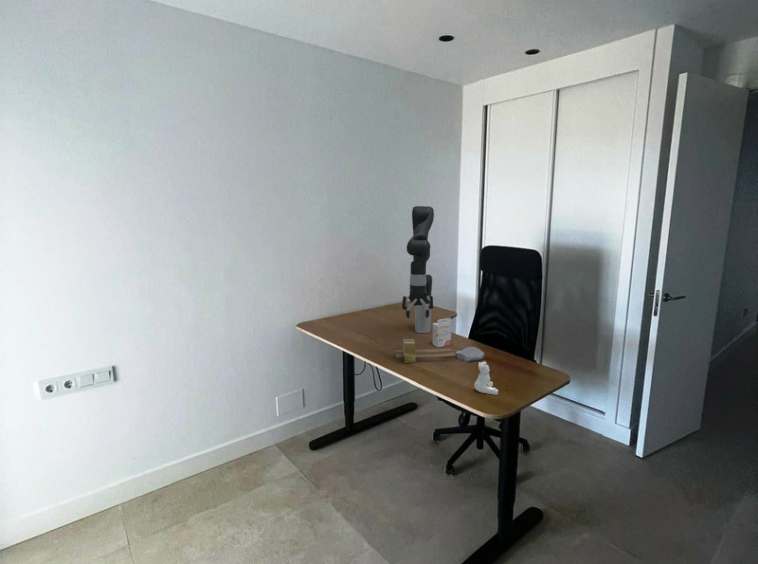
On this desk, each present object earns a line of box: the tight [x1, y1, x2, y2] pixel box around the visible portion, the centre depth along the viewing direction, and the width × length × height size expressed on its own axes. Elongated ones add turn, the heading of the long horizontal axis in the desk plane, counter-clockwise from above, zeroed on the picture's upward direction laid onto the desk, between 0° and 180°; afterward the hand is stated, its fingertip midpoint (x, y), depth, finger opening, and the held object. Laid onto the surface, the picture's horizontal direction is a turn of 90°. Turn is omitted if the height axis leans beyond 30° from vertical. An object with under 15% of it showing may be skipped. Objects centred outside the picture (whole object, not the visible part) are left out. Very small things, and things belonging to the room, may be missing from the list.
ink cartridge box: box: [432, 317, 452, 348], centre depth 221 cm, size 9×5×15 cm, turn 115°
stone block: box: [455, 346, 485, 363], centre depth 203 cm, size 12×5×10 cm
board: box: [394, 348, 457, 363], centre depth 203 cm, size 10×28×2 cm, turn 94°
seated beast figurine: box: [473, 360, 499, 396], centre depth 167 cm, size 10×9×12 cm
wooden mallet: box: [402, 338, 417, 364], centre depth 203 cm, size 15×5×9 cm, turn 4°
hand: (417, 317), depth 197 cm, fingers open, 8 cm apart
